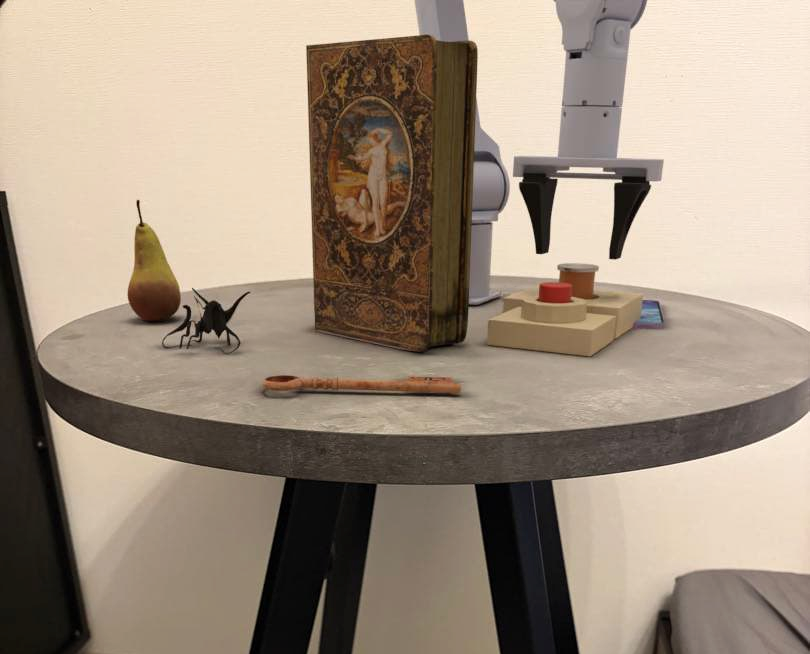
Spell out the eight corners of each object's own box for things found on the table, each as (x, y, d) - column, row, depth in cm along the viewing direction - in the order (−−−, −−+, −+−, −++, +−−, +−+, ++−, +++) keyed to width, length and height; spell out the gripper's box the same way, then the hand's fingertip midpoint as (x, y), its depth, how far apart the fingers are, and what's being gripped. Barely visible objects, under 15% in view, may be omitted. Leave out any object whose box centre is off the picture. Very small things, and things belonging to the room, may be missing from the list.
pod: (549, 326, 90) (554, 267, 88) (556, 320, 94) (561, 262, 92) (589, 329, 89) (595, 269, 87) (595, 322, 93) (601, 264, 90)
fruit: (196, 319, 92) (185, 197, 87) (152, 327, 88) (138, 200, 83) (161, 313, 95) (149, 195, 90) (117, 320, 91) (102, 197, 86)
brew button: (533, 304, 81) (535, 285, 80) (544, 300, 83) (545, 281, 83) (564, 307, 80) (566, 287, 79) (574, 302, 82) (576, 283, 81)
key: (459, 385, 69) (272, 379, 70) (460, 374, 69) (272, 368, 69) (460, 399, 64) (257, 392, 64) (461, 386, 63) (257, 380, 64)
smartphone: (593, 321, 91) (596, 298, 105) (592, 330, 92) (595, 306, 105) (666, 323, 90) (659, 300, 103) (664, 332, 90) (658, 308, 103)
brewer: (501, 327, 90) (503, 297, 89) (534, 312, 98) (536, 284, 97) (616, 339, 85) (619, 307, 84) (640, 322, 93) (643, 293, 92)
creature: (227, 370, 76) (266, 334, 82) (215, 312, 73) (257, 278, 79) (150, 363, 78) (193, 328, 84) (135, 306, 75) (181, 273, 81)
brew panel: (486, 344, 82) (489, 301, 80) (516, 330, 88) (519, 290, 87) (590, 356, 78) (594, 311, 76) (613, 340, 84) (618, 298, 83)
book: (306, 329, 88) (296, 46, 77) (346, 322, 91) (341, 51, 81) (428, 355, 78) (435, 33, 67) (466, 346, 81) (479, 39, 71)
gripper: (677, 108, 83) (657, 256, 89) (533, 109, 89) (524, 247, 95) (661, 106, 78) (641, 264, 83) (509, 106, 83) (500, 254, 89)
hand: (577, 255), depth 89 cm, fingers open, 7 cm apart
